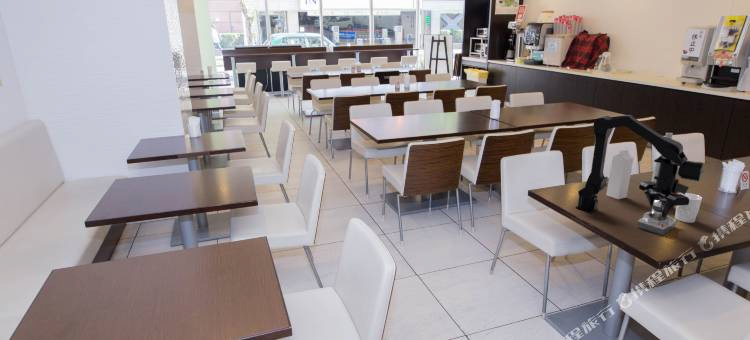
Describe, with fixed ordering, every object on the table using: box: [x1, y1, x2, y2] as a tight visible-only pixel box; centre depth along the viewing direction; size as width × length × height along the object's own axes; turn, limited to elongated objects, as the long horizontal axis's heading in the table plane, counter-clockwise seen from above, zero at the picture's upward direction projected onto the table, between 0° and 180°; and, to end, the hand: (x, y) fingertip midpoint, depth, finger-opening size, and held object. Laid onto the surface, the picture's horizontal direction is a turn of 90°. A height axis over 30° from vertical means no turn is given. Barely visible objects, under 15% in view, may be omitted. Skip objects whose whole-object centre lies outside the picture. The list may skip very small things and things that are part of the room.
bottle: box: [651, 132, 674, 183], centre depth 203 cm, size 7×7×28 cm
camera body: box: [636, 211, 678, 236], centre depth 169 cm, size 9×12×4 cm
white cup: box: [674, 192, 703, 224], centre depth 175 cm, size 8×8×10 cm
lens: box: [650, 198, 666, 220], centre depth 167 cm, size 5×5×7 cm
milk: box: [606, 148, 634, 200], centre depth 198 cm, size 6×6×22 cm
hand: (658, 214), depth 168 cm, fingers closed on lens, 5 cm apart
